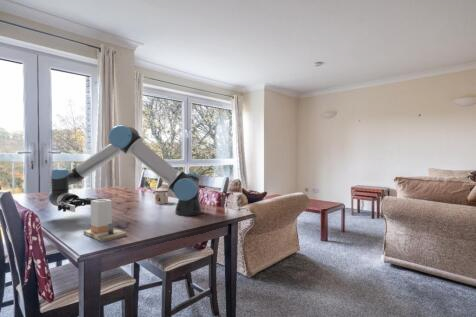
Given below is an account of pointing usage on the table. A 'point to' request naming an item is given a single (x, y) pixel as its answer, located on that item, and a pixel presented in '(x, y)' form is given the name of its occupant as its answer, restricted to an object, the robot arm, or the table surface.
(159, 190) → the wooden birdhouse
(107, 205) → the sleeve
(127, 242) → the table surface
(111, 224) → the steel pin
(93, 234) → the pin board
